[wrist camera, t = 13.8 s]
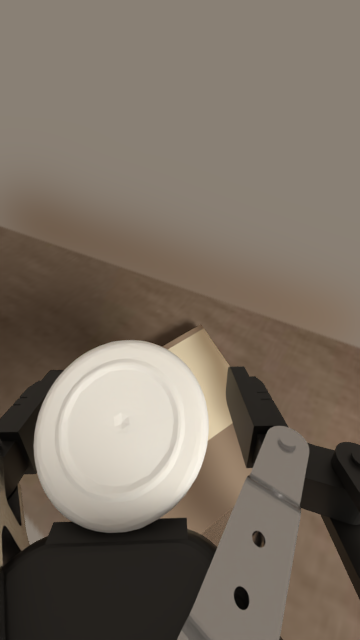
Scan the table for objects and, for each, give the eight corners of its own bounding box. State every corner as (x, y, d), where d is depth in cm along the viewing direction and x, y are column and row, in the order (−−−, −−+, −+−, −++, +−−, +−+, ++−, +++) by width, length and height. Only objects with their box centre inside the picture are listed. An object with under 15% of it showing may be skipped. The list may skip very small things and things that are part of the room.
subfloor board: (199, 329, 22) (200, 324, 21) (284, 454, 18) (293, 459, 17) (78, 399, 20) (70, 399, 18) (146, 564, 16) (144, 580, 14)
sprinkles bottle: (178, 451, 17) (181, 579, 4) (123, 432, 17) (-17, 500, 5) (193, 392, 18) (229, 361, 6) (143, 376, 19) (78, 317, 6)
